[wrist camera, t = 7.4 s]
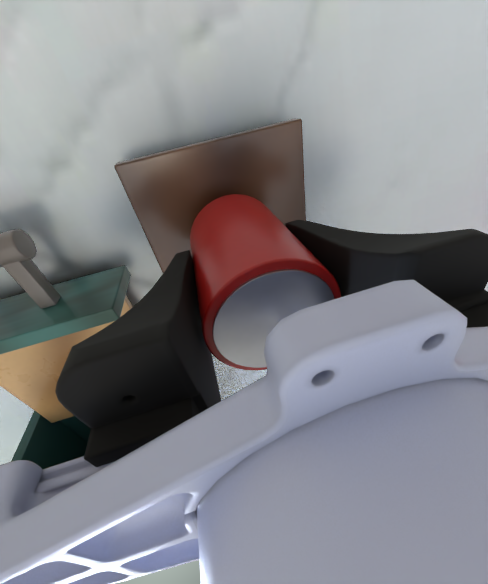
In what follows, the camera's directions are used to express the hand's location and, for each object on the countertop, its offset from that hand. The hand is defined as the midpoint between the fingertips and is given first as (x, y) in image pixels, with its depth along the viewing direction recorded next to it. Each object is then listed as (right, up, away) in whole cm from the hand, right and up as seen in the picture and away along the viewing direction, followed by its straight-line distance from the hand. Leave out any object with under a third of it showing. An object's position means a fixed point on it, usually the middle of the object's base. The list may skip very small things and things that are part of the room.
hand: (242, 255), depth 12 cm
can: (0, +1, +1) cm, 2 cm away
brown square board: (-1, +3, +4) cm, 6 cm away
